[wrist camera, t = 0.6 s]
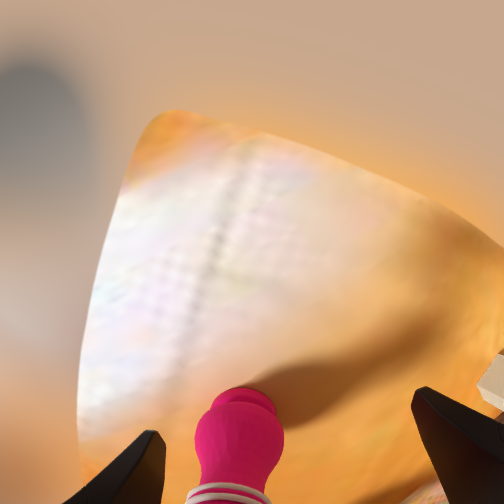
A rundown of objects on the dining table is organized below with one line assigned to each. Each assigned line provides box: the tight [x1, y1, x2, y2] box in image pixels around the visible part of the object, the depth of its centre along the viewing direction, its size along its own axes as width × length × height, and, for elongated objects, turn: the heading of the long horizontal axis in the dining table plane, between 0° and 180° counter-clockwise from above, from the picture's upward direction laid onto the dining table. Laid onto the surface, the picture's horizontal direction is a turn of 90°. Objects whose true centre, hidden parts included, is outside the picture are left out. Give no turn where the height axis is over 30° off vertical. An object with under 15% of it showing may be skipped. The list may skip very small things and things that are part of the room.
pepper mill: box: [185, 388, 284, 504], centre depth 13 cm, size 7×7×20 cm
